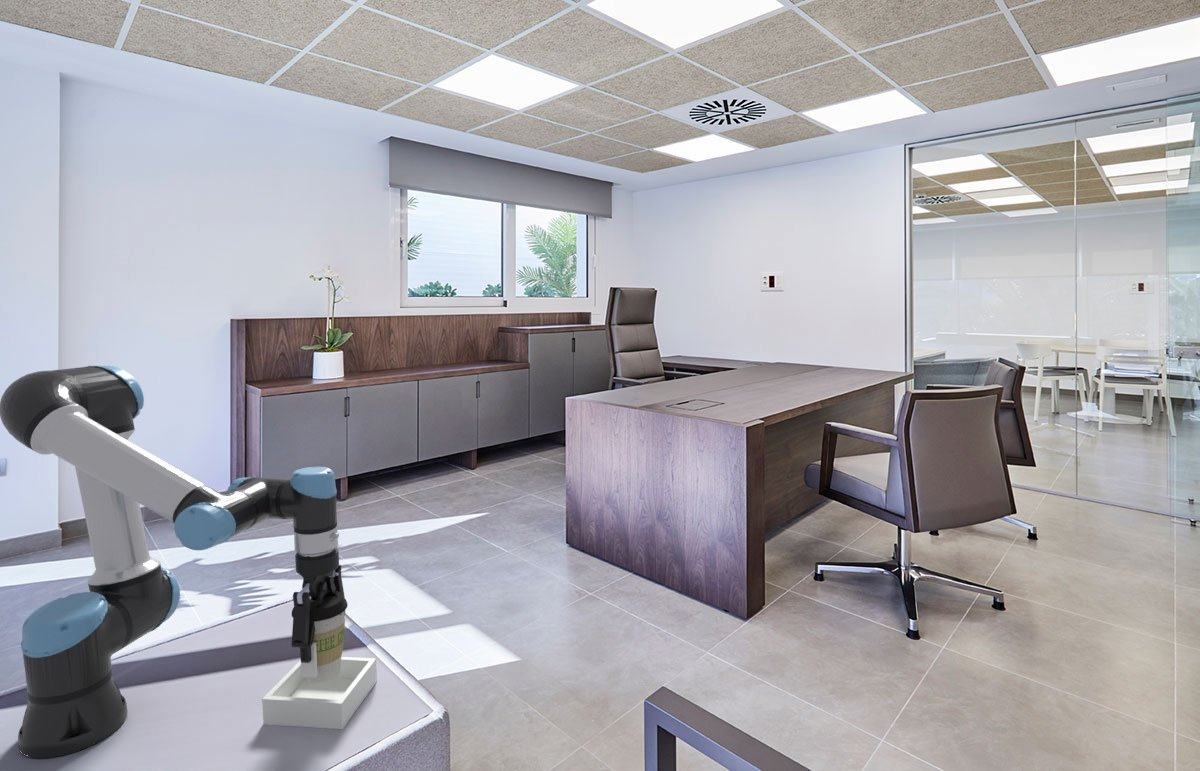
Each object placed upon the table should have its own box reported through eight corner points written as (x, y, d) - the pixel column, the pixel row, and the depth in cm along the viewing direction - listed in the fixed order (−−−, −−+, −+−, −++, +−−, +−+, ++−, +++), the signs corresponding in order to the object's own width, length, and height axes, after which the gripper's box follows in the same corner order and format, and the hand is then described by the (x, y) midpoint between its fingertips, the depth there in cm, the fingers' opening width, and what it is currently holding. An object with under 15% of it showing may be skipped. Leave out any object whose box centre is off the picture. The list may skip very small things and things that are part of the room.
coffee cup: (330, 691, 117) (326, 614, 116) (283, 684, 119) (279, 608, 118) (360, 662, 127) (357, 591, 125) (316, 657, 129) (313, 586, 127)
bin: (263, 724, 117) (262, 698, 116) (306, 677, 132) (305, 654, 131) (342, 729, 116) (341, 703, 115) (376, 681, 131) (376, 658, 130)
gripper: (306, 573, 109) (312, 696, 112) (361, 530, 131) (365, 634, 133) (264, 572, 110) (271, 694, 113) (325, 529, 131) (330, 633, 134)
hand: (322, 661), depth 123 cm, fingers closed on coffee cup, 9 cm apart
